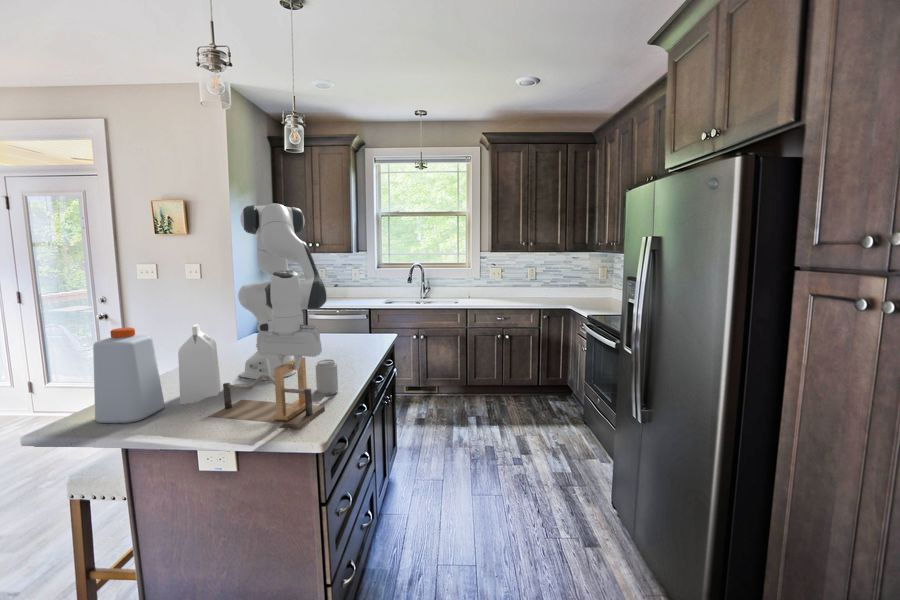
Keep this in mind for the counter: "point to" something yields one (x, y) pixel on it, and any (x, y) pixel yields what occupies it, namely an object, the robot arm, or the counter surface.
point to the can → (327, 376)
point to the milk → (198, 368)
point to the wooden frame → (279, 373)
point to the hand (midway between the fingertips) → (290, 369)
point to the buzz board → (266, 407)
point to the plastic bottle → (126, 378)
